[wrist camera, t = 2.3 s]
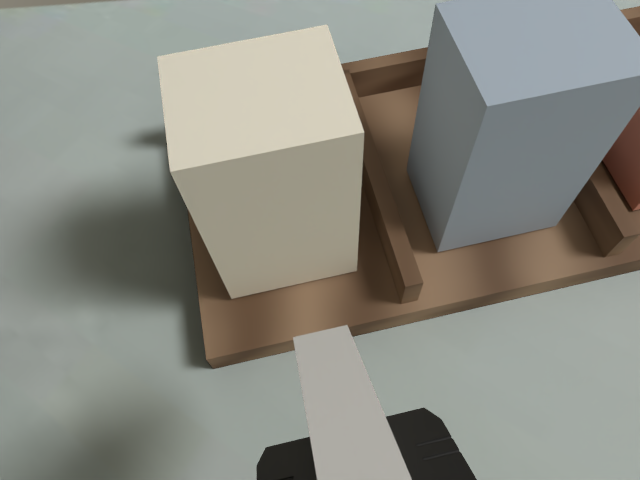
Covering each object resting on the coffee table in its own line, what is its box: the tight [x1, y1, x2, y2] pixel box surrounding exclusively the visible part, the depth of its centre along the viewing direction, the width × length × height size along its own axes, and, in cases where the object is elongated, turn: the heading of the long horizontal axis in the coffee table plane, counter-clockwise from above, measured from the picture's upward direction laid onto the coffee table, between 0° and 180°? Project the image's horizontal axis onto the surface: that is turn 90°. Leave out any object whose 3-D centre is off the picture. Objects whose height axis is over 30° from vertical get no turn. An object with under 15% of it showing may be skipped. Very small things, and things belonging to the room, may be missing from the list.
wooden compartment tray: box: [187, 6, 640, 369], centre depth 28 cm, size 29×14×4 cm, turn 103°
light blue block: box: [406, 0, 640, 252], centre depth 22 cm, size 6×5×10 cm
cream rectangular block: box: [157, 25, 364, 299], centre depth 22 cm, size 6×5×10 cm
